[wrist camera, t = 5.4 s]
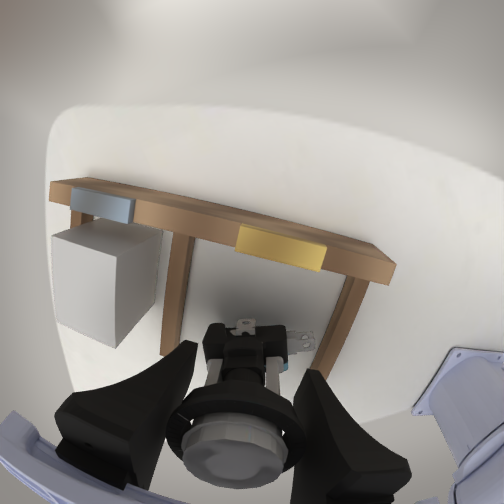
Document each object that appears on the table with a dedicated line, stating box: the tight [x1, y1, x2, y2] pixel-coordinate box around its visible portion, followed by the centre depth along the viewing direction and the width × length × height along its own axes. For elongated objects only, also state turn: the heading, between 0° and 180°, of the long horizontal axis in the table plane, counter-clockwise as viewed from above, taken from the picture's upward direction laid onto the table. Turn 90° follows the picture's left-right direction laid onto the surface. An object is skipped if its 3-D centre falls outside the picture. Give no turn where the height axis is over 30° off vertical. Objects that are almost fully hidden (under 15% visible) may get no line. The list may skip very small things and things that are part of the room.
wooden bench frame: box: [49, 177, 397, 380], centre depth 16 cm, size 20×11×5 cm, turn 77°
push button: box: [165, 318, 315, 489], centre depth 12 cm, size 7×5×10 cm
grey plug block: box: [51, 218, 163, 349], centre depth 16 cm, size 4×6×6 cm
